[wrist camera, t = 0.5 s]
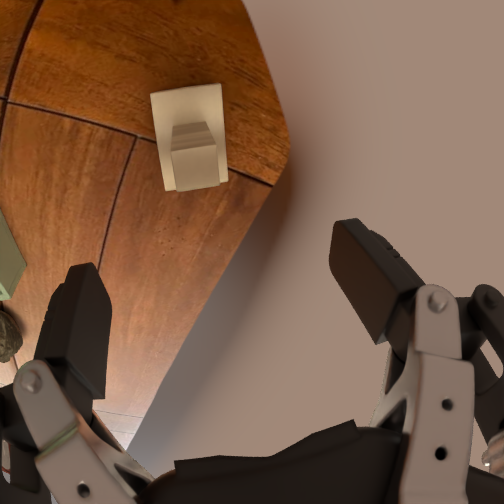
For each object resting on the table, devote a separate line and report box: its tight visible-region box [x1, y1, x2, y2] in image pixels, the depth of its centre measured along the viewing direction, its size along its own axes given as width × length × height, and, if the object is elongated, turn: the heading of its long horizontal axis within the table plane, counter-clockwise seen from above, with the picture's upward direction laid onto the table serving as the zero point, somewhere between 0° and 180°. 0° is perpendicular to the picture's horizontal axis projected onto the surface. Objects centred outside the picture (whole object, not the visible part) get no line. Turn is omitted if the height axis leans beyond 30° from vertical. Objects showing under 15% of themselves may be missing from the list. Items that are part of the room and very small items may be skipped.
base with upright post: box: [150, 83, 228, 192], centre depth 20 cm, size 8×5×10 cm, turn 2°
